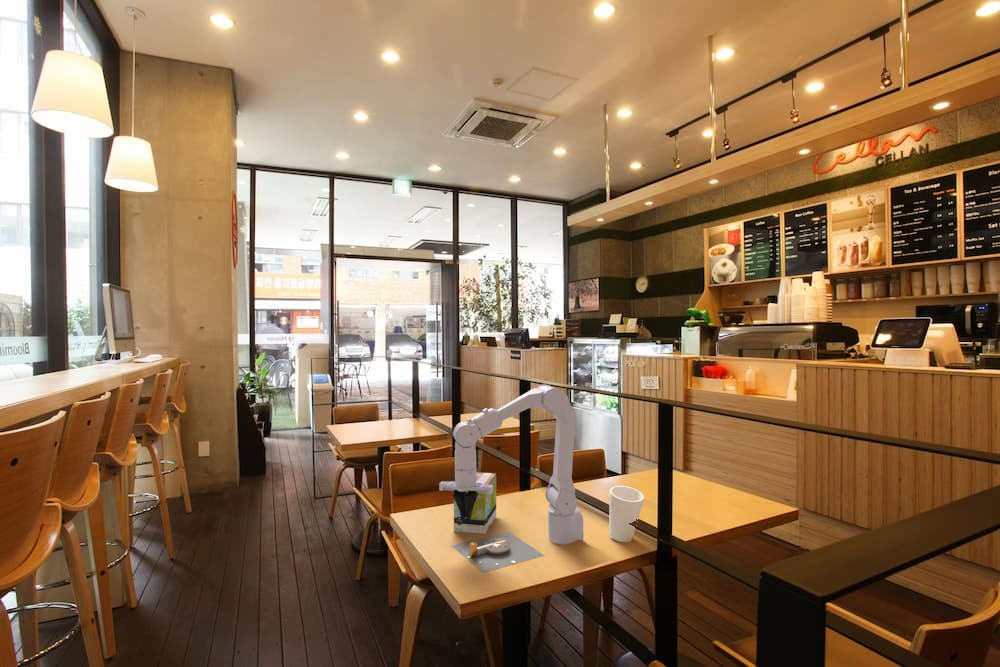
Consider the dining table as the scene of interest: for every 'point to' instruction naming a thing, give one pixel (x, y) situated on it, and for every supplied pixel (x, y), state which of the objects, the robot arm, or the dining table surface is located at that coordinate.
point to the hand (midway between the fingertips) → (466, 518)
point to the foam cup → (624, 511)
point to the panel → (492, 562)
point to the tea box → (479, 508)
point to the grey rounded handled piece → (490, 547)
